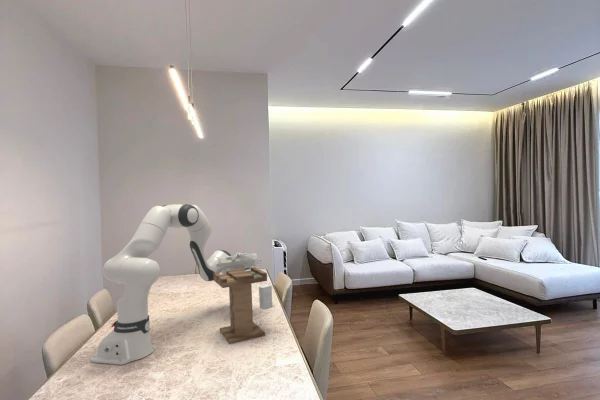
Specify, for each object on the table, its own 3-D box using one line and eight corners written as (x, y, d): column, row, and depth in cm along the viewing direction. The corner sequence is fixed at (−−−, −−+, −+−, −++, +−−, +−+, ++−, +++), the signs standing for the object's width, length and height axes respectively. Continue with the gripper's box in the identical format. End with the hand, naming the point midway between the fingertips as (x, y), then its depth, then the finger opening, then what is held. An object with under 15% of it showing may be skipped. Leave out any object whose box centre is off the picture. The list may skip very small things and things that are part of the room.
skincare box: (267, 305, 192) (267, 284, 192) (272, 306, 189) (271, 285, 189) (259, 307, 188) (258, 286, 188) (264, 309, 185) (263, 287, 184)
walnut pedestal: (215, 332, 155) (213, 272, 155) (256, 323, 164) (254, 267, 164) (224, 345, 141) (222, 279, 141) (269, 334, 150) (266, 273, 150)
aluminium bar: (236, 258, 170) (236, 252, 170) (242, 257, 172) (242, 251, 172) (254, 266, 147) (254, 259, 147) (261, 265, 149) (261, 258, 149)
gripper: (214, 261, 175) (220, 251, 165) (251, 256, 185) (259, 246, 174) (216, 273, 172) (222, 263, 162) (254, 267, 182) (261, 258, 171)
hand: (241, 254), depth 168 cm, fingers closed on aluminium bar, 3 cm apart
